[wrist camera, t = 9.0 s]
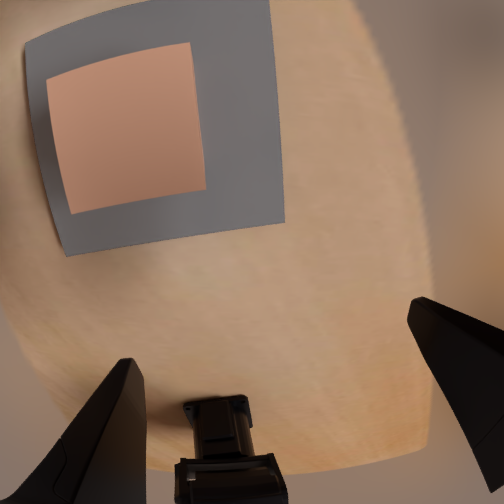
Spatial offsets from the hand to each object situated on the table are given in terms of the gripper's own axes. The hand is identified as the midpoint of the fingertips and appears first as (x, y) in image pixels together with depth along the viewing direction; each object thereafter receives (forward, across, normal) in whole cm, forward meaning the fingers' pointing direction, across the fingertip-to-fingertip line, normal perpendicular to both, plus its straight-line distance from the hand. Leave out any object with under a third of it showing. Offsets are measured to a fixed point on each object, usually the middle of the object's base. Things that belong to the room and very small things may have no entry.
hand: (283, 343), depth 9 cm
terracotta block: (+10, +4, -6) cm, 13 cm away
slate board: (+11, +4, -7) cm, 14 cm away
